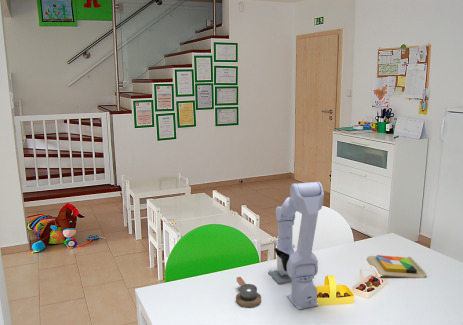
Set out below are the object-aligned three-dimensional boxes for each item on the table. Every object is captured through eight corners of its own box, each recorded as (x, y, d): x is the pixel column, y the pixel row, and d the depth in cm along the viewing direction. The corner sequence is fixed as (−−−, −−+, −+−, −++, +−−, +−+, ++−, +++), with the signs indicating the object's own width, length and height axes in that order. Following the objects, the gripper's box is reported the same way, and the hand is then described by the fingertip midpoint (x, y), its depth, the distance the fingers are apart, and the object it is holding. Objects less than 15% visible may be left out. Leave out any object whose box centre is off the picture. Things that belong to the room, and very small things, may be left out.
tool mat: (301, 280, 163) (301, 278, 163) (278, 284, 160) (278, 283, 160) (290, 269, 172) (290, 267, 172) (268, 273, 169) (268, 271, 169)
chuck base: (265, 304, 146) (265, 301, 145) (241, 309, 143) (240, 305, 143) (255, 292, 154) (255, 288, 154) (232, 296, 151) (232, 293, 151)
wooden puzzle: (427, 279, 163) (428, 271, 162) (378, 279, 164) (379, 271, 163) (409, 259, 180) (410, 252, 179) (365, 260, 181) (366, 252, 180)
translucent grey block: (290, 273, 164) (290, 257, 163) (281, 275, 163) (281, 259, 161) (286, 269, 168) (286, 253, 166) (277, 271, 167) (277, 255, 165)
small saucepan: (259, 298, 146) (259, 290, 146) (243, 302, 144) (243, 293, 144) (246, 281, 159) (245, 273, 158) (231, 284, 157) (231, 276, 156)
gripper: (303, 241, 157) (302, 274, 160) (286, 228, 170) (285, 259, 173) (286, 243, 155) (285, 277, 157) (270, 230, 168) (270, 261, 171)
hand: (284, 268), depth 165 cm, fingers closed on translucent grey block, 4 cm apart
